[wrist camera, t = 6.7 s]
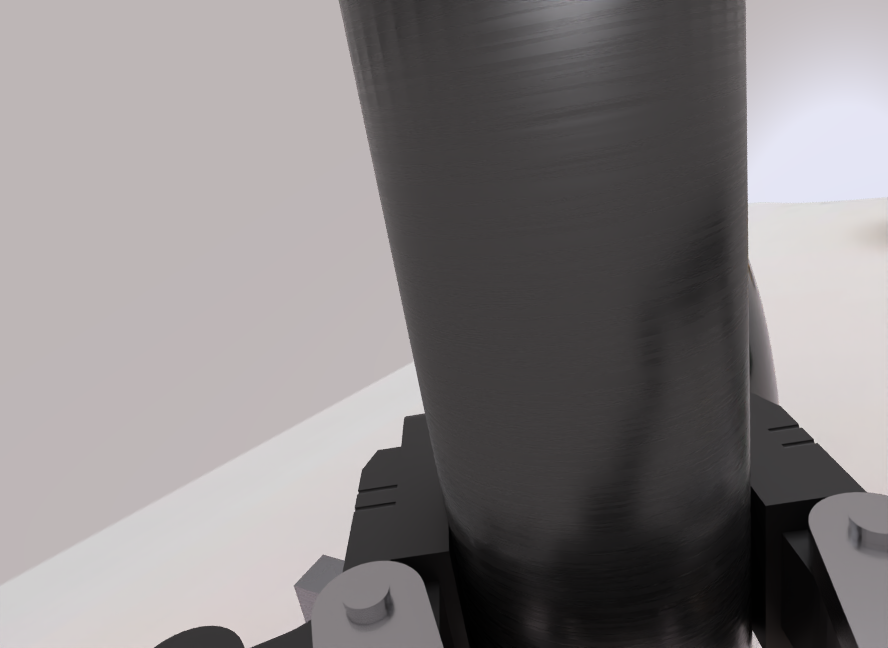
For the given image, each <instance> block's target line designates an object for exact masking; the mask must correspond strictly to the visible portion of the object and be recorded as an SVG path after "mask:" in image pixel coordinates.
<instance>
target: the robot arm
mask: <svg viewBox="0 0 888 648" xmlns="http://www.w3.org/2000/svg"><path fill="white" fill-rule="evenodd" d="M750 473H751V567H752V630H753V632H754V634H755V635H756V637H757V639H758V641H759V643H760V644H761V646H762V648H888V496H886V495H882V494H875V493H867V492H866V491H865V490H864V489H863V488H862V487H861V486H860V485H859V484H858V483H857V482H856V481H855V480H854V479H853V478H852V477H851V476H850V475H849V474H848V473H847V472H846V471H845V470H844V469H843V468H842V467H841V466H840V465H839V464H838V463H837V462H836V461H835V460H834V459H833V458H832V457H831V456H830V455H829V454H828V453H827V452H826V451H825V450H824V449H823V448H822V447H821V446H820V445H819V444H818V443H816V444H815V443H814V439H813V438H812V437H811V436H810V435H809V434H808V433H807V432H806V431H805V430H804V429H803V428H799V425H798V423H797V422H796V421H795V420H794V419H793V418H792V417H791V416H790V415H789V414H788V413H787V412H786V411H785V410H784V409H783V408H782V407H781V406H779V405H777V404H775V403H773V402H771V401H768V400H766V399H764V398H762V397H760V396H758V395H756V394H754V393H750ZM358 492H359V494H358V495H357V499H356V505H355V512H354V515H353V520H352V525H351V531H350V536H349V541H348V546H347V552H346V557H345V562H344V567H343V573H341V574H340V575H338V576H337V577H335V578H334V579H333V580H332V581H330V582H329V583H328V584H327V585H326V586H325V587H324V588H323V590H322V591H321V592H320V594H319V595H318V597H317V598H316V601H315V603H314V605H313V608H312V612H311V620H309V621H308V622H307V623H305V624H303V625H302V626H300V627H298V628H297V629H294V630H292V631H290V632H288V633H286V634H283V635H281V636H278V637H276V638H273V639H271V640H269V641H266V642H264V643H261V644H259V645H256V646H254V647H251V648H474V643H473V638H472V634H471V629H470V624H469V619H468V614H467V610H466V605H465V600H464V595H463V590H462V586H461V581H460V576H459V571H458V566H457V562H456V557H455V552H454V547H453V542H452V538H451V533H450V528H449V523H448V520H447V516H446V511H445V506H444V501H443V497H442V492H441V487H440V482H439V478H438V473H437V468H436V463H435V458H434V454H433V449H432V444H431V439H430V434H429V430H428V425H427V420H426V415H425V414H419V415H413V416H406V417H405V418H404V425H403V435H402V445H401V447H396V448H390V449H383V450H378V451H377V452H376V453H375V454H374V456H373V457H372V458H371V459H370V461H369V462H368V463H367V464H366V466H365V467H364V468H363V469H362V473H361V478H360V484H359V489H358ZM154 648H244V645H243V643H242V641H241V639H240V637H239V636H238V635H237V634H236V633H235V632H233V631H231V630H230V629H227V628H224V627H220V626H203V627H198V628H193V629H190V630H187V631H184V632H181V633H179V634H177V635H174V636H172V637H170V638H169V639H167V640H165V641H163V642H162V643H160V644H159V645H157V646H156V647H154Z"/></svg>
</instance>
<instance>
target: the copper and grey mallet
mask: <svg viewBox="0 0 888 648" xmlns="http://www.w3.org/2000/svg"><path fill="white" fill-rule="evenodd" d="M339 4H340V8H341V13H342V18H343V22H344V27H345V32H346V37H347V42H348V46H349V51H350V56H351V61H352V65H353V71H354V75H355V80H356V85H357V90H358V95H359V99H360V104H361V109H362V113H363V118H364V123H365V128H366V133H367V138H368V142H369V147H370V151H371V157H372V161H373V166H374V171H375V175H376V180H377V186H378V190H379V195H380V200H381V205H382V209H383V214H384V219H385V224H386V229H387V233H388V238H389V243H390V248H391V252H392V257H393V261H394V267H395V272H396V276H397V281H398V286H399V291H400V296H401V300H402V305H403V310H404V315H405V319H406V324H407V329H408V333H409V339H410V343H411V348H412V353H413V358H414V363H415V367H416V372H417V377H418V382H419V387H420V391H421V396H422V401H423V406H424V410H425V415H426V420H427V425H428V430H429V434H430V439H431V444H432V449H433V454H434V458H435V463H436V468H437V473H438V478H439V482H440V487H441V492H442V497H443V501H444V506H445V511H446V516H447V520H448V523H449V528H450V533H451V538H452V542H453V547H454V552H455V557H456V562H457V566H458V571H459V576H460V581H461V586H462V590H463V595H464V600H465V605H466V610H467V614H468V619H469V624H470V629H471V634H472V638H473V643H474V648H752V567H751V473H750V380H749V286H748V202H747V201H748V200H747V199H748V198H747V197H748V196H747V101H746V100H747V99H746V7H745V0H339Z"/></svg>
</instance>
